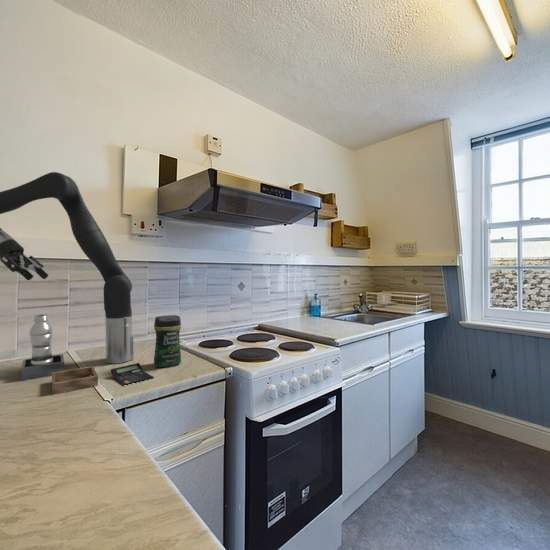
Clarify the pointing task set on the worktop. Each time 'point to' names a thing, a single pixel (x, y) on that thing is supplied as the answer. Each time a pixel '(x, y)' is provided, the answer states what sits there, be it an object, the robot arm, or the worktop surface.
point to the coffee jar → (167, 341)
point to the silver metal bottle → (41, 341)
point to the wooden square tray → (75, 383)
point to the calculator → (130, 374)
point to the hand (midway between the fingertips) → (39, 277)
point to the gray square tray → (41, 368)
